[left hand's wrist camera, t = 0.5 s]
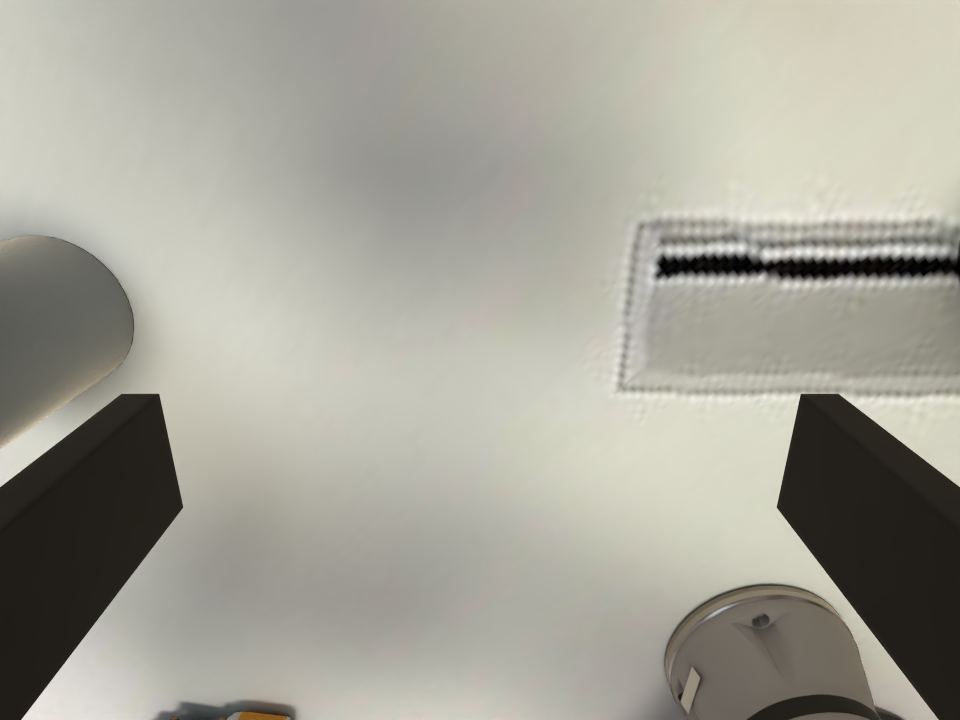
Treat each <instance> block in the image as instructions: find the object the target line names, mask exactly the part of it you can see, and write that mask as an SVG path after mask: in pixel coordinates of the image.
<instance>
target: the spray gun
mask: <svg viewBox="0 0 960 720" xmlns="http://www.w3.org/2000/svg"><path fill="white" fill-rule="evenodd" d="M171 720H179V719H178V717H172V718H171ZM219 720H291V718H290V717H287V716H279V715H271V714H262V713H254V712H245V711H242V712H236V713H234V714H232V715H231V716H230V717H229V718H223V717H221V718H220V719H219Z"/></svg>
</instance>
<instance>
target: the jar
mask: <svg viewBox="0 0 960 720" xmlns="http://www.w3.org/2000/svg"><path fill="white" fill-rule="evenodd" d="M132 338H133V317H132V312H131V308H130V305H129V302H128V299H127V297H126V295H125V293H124V291H123V289H122V287H121V286H120V284H119V283H118V281H117V280H116V278H115V277H114V276H113V275H112V273H111V272H110V271H109V270H108V269H107V268H106V267H105V266H104V265H103V264H102V263H101V262H100V261H98V260H97V259H96V258H95V257H94V256H92V255H91V254H89V253H88V252H86V251H85V250H83V249H81V248H79V247H77V246H75V245H73V244H71V243H68V242H66V241H63V240H60V239H56V238H52V237H46V236H22V237H17V238H13V239H9V240H5V241H1V242H0V449H1V448H3V447H4V446H6V445H7V444H8V443H10V442H11V441H13V440H14V439H16V438H17V437H19V436H20V435H21V434H23V433H24V432H26V431H27V430H29V429H30V428H32V427H33V426H35V425H36V424H37V423H39V422H40V421H42V420H43V419H45V418H46V417H48V416H49V415H51V414H52V413H53V412H55V411H56V410H58V409H59V408H61V407H62V406H64V405H65V404H66V403H68V402H69V401H71V400H72V399H74V398H75V397H77V396H78V395H80V394H81V393H82V392H84V391H85V390H87V389H88V388H90V387H91V386H93V385H94V384H95V383H97V382H98V381H100V380H101V379H103V378H104V377H106V376H107V375H109V374H110V373H111V372H113V371H114V370H115V369H116V368H117V367H118V366H119V365H120V364H121V363H122V362H123V360H124V359H125V357H126V356H127V354H128V351H129V349H130V347H131V343H132Z"/></svg>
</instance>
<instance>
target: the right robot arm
mask: <svg viewBox="0 0 960 720" xmlns="http://www.w3.org/2000/svg"><path fill="white" fill-rule="evenodd" d="M665 671H666V676H667V679H668V683H669V686H670V689H671V691H672V694H673V697H674V699H675V701H676V703H677V704H678V706H679V708H680V710H681V711H682V713H683V714H684V716H685V717H686V718H687V720H899V719H897V718H895V717H892V716H889V715H886V714H883V713H879V712H876V709H875V706H874V702H873V699H872V695H871V692H870V688H869V685H868V682H867V678H866V675H865V671H864V668H863V665H862V662H861V659H860V654H859V650H858V647H857V644H856V642H855V640H854V638H853V636H852V634H851V632H850V630H849V629H848V627H847V626H846V624H845V623H844V622H843V620H842V619H841V617H840V616H839V615H838V613H837V612H836V611H835V610H834V609H833V608H832V607H831V606H830V605H829V604H828V603H827V602H825V601H824V600H823V599H821V598H819V597H818V596H816V595H814V594H811V593H809V592H806V591H803V590H800V589H796V588H792V587H785V586H756V587H750V588H745V589H740V590H736V591H733V592H730V593H727V594H725V595H722V596H720V597H718V598H716V599H713V600H711V601H710V602H708V603H706V604H705V605H703V606H702V607H700V608H699V609H697V610H696V611H695V612H693V613H692V614H691V615H690V616H689V617H688V618H687V619H686V620H685V621H684V622H683V623H682V624H681V625H680V627H679V628H678V629H677V631H676V632H675V634H674V635H673V637H672V639H671V641H670V643H669V646H668V649H667V652H666V658H665Z"/></svg>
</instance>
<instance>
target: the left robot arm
mask: <svg viewBox="0 0 960 720" xmlns="http://www.w3.org/2000/svg"><path fill="white" fill-rule="evenodd" d="M182 508H183V504H182V499H181V495H180V490H179V485H178V481H177V476H176V471H175V467H174V462H173V457H172V452H171V448H170V443H169V438H168V434H167V429H166V424H165V420H164V415H163V410H162V405H161V401H160V396H159V394H121V395H120V396H118V397H117V398H116V399H114V400H113V401H112V402H111V403H109V404H108V405H107V406H105V407H104V408H103V409H101V410H100V411H99V412H98V413H96V414H95V415H94V416H92V417H91V418H90V419H88V420H87V421H86V422H85V423H83V424H82V425H81V426H79V427H78V428H77V429H75V430H74V431H73V432H72V433H70V434H69V435H68V436H66V437H65V438H64V439H62V440H61V441H60V442H59V443H57V444H56V445H55V446H53V447H52V448H51V449H49V450H48V451H47V452H46V453H44V454H43V455H42V456H40V457H39V458H38V459H36V460H35V461H34V462H33V463H31V464H30V465H29V466H27V467H26V468H25V469H23V470H22V471H21V472H20V473H18V474H17V475H16V476H14V477H13V478H12V479H10V480H9V481H8V482H7V483H5V484H4V485H3V486H1V487H0V720H21V719H22V718H23V717H24V715H25V714H26V713H27V711H28V710H29V709H30V707H31V706H32V705H33V704H34V702H35V701H36V700H37V698H38V697H39V696H40V694H41V693H42V692H43V690H44V689H45V688H46V687H47V685H48V684H49V683H50V681H51V680H52V679H53V677H54V676H55V675H56V673H57V672H58V671H59V669H60V668H61V667H62V666H63V664H64V663H65V662H66V660H67V659H68V658H69V656H70V655H71V654H72V652H73V651H74V650H75V649H76V647H77V646H78V645H79V643H80V642H81V641H82V639H83V638H84V637H85V635H86V634H87V633H88V631H89V630H90V629H91V628H92V626H93V625H94V624H95V622H96V621H97V620H98V618H99V617H100V616H101V614H102V613H103V612H104V611H105V609H106V608H107V607H108V605H109V604H110V603H111V601H112V600H113V599H114V597H115V596H116V595H117V593H118V592H119V591H120V590H121V588H122V587H123V586H124V584H125V583H126V582H127V580H128V579H129V578H130V576H131V575H132V574H133V573H134V571H135V570H136V569H137V567H138V566H139V565H140V563H141V562H142V561H143V559H144V558H145V557H146V555H147V554H148V553H149V552H150V550H151V549H152V548H153V546H154V545H155V544H156V542H157V541H158V540H159V538H160V537H161V536H162V535H163V533H164V532H165V531H166V529H167V528H168V527H169V525H170V524H171V523H172V521H173V520H174V519H175V517H176V516H177V515H178V514H179V512H180V511H181V510H182ZM777 508H778V510H779V511H780V512H781V514H782V515H783V516H784V517H785V519H786V520H787V521H788V523H789V524H790V525H791V527H792V528H793V529H794V531H795V532H796V533H797V535H798V536H799V537H800V538H801V540H802V541H803V542H804V544H805V545H806V546H807V548H808V549H809V550H810V552H811V553H812V554H813V555H814V557H815V558H816V559H817V561H818V562H819V563H820V565H821V566H822V567H823V569H824V570H825V571H826V573H827V574H828V575H829V576H830V578H831V579H832V580H833V582H834V583H835V584H836V586H837V587H838V588H839V590H840V591H841V592H842V593H843V595H844V596H845V597H846V599H847V600H848V601H849V603H850V604H851V605H852V607H853V608H854V609H855V611H856V612H857V613H858V614H859V616H860V617H861V618H862V620H863V621H864V622H865V624H866V625H867V626H868V628H869V629H870V630H871V631H872V633H873V634H874V635H875V637H876V638H877V639H878V641H879V642H880V643H881V645H882V646H883V647H884V649H885V650H886V651H887V652H888V654H889V655H890V656H891V658H892V659H893V660H894V662H895V663H896V664H897V666H898V667H899V668H900V669H901V671H902V672H903V673H904V675H905V676H906V677H907V679H908V680H909V681H910V683H911V684H912V685H913V687H914V688H915V689H916V690H917V692H918V693H919V694H920V696H921V697H922V698H923V700H924V701H925V702H926V704H927V705H928V706H929V707H930V709H931V710H932V711H933V713H934V714H935V715H936V717H937V718H938V719H939V720H960V487H959V486H957V485H956V484H955V483H953V482H952V481H951V480H950V479H948V478H947V477H946V476H944V475H943V474H942V473H940V472H939V471H938V470H937V469H935V468H934V467H933V466H931V465H930V464H929V463H927V462H926V461H925V460H924V459H922V458H921V457H920V456H918V455H917V454H916V453H914V452H913V451H912V450H911V449H909V448H908V447H907V446H905V445H904V444H903V443H901V442H900V441H899V440H898V439H896V438H895V437H894V436H892V435H891V434H890V433H888V432H887V431H886V430H885V429H883V428H882V427H881V426H879V425H878V424H877V423H875V422H874V421H873V420H872V419H870V418H869V417H868V416H866V415H865V414H864V413H862V412H861V411H860V410H859V409H857V408H856V407H855V406H853V405H852V404H851V403H849V402H848V401H847V400H846V399H844V398H843V397H842V396H840V395H839V394H801V396H800V401H799V405H798V410H797V415H796V419H795V424H794V429H793V434H792V438H791V443H790V448H789V452H788V457H787V462H786V467H785V471H784V476H783V481H782V485H781V490H780V495H779V499H778V504H777Z"/></svg>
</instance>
